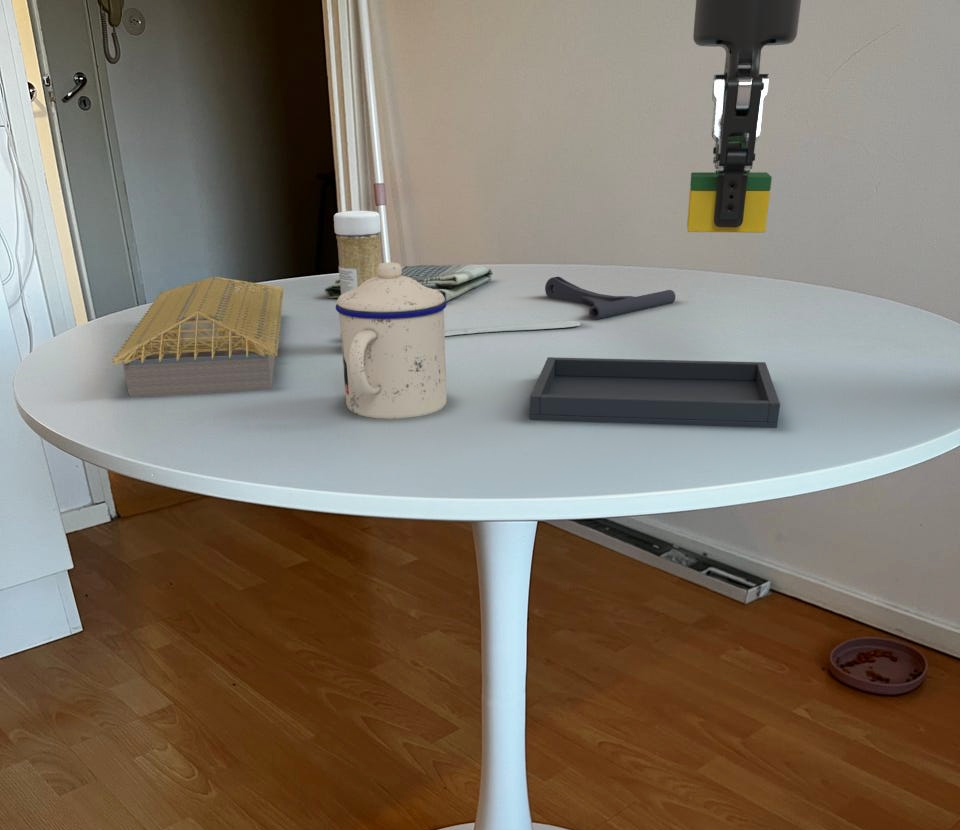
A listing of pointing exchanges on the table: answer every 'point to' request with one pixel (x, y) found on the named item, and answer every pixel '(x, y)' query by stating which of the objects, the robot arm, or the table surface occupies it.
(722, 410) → the tray
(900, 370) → the table surface
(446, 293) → the dish towel
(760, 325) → the table surface
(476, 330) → the butter knife
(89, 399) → the table surface
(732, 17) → the robot arm
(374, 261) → the sprinkles bottle
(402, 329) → the teacup with lid
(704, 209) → the sponge
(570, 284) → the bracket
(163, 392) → the rafter model
